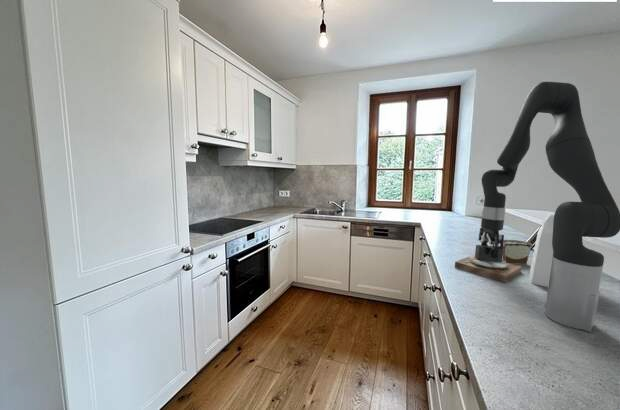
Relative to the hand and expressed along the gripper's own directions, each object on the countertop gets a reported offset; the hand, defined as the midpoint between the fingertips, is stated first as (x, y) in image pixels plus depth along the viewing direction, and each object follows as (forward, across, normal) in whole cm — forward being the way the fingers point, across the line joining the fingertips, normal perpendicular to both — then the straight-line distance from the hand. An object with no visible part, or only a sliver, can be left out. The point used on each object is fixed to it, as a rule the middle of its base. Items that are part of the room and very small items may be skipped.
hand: (488, 254), depth 103 cm
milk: (+7, -9, -18) cm, 21 cm away
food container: (+7, +14, -17) cm, 23 cm away
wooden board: (+7, 0, 0) cm, 7 cm away
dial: (+4, 0, 0) cm, 4 cm away
